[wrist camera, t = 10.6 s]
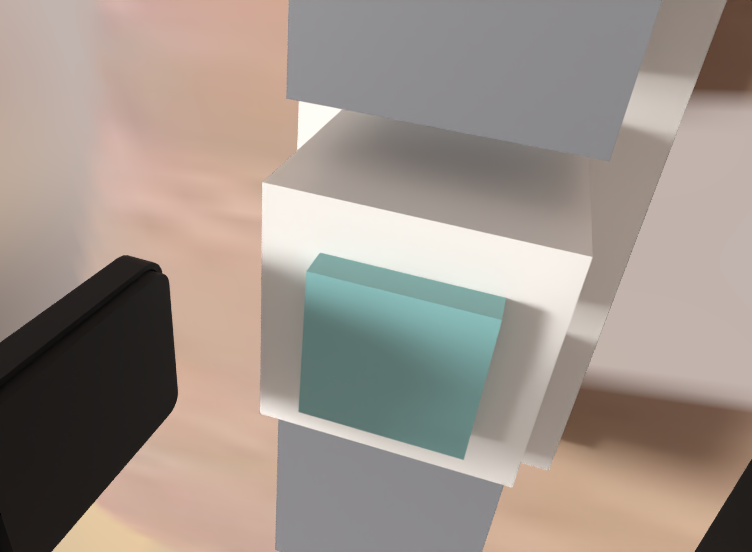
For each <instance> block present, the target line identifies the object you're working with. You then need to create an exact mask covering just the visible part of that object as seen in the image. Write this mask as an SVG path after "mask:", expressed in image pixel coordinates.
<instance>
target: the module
mask: <svg viewBox="0 0 752 552" xmlns="http://www.w3.org/2000/svg"><path fill="white" fill-rule="evenodd" d="M592 257H593V253H592V217H591V182H590V157H584V156H579V155H574V154H569V153H564V152H559V151H554V150H548V149H543V148H538V147H533V146H528V145H523V144H518V143H513V142H507V141H502V140H497V139H492V138H487V137H482V136H477V135H471V134H466V133H461V132H456V131H451V130H446V129H441V128H435V127H430V126H425V125H420V124H415V123H410V122H405V121H399V120H394V119H389V118H384V117H379V116H374V115H369V114H363V113H358V112H353V111H348V110H343V109H342V110H341V111H340V112H339V113H338V114H336V115H335V116H334V117H333V118H332V119H331V120H330V121H329V122H328V123H327V124H326V125H324V126H323V127H322V128H321V129H320V130H319V131H318V132H317V133H316V134H315V135H314V136H312V137H311V138H310V139H309V140H308V141H307V142H306V143H305V144H304V145H303V146H302V147H300V148H299V149H298V150H297V151H296V152H295V153H294V154H293V155H292V156H291V157H290V158H288V159H287V160H286V161H285V162H284V163H283V164H282V165H281V166H280V167H279V168H277V169H276V170H275V171H274V172H273V173H272V174H271V175H270V176H269V177H268V178H267V179H265V180H264V181H263V182H262V277H261V380H260V414H263V415H267V416H270V417H273V418H277V419H280V420H284V421H287V422H290V423H294V424H297V425H301V426H304V427H307V428H311V429H314V430H318V431H321V432H324V433H328V434H331V435H335V436H338V437H341V438H345V439H348V440H352V441H355V442H358V443H362V444H365V445H369V446H372V447H375V448H379V449H382V450H386V451H389V452H392V453H396V454H399V455H403V456H406V457H409V458H413V459H416V460H420V461H423V462H426V463H430V464H433V465H437V466H440V467H443V468H447V469H450V470H454V471H457V472H460V473H464V474H467V475H471V476H474V477H477V478H481V479H484V480H488V481H491V482H494V483H498V484H501V485H505V486H508V487H511V488H512V487H513V484H514V481H515V478H516V475H517V472H518V470H519V467H520V464H521V461H522V458H523V455H524V452H525V449H526V447H527V444H528V441H529V438H530V435H531V432H532V429H533V427H534V424H535V421H536V418H537V415H538V412H539V409H540V406H541V404H542V401H543V398H544V395H545V392H546V389H547V386H548V384H549V381H550V378H551V375H552V372H553V369H554V366H555V363H556V361H557V358H558V355H559V352H560V349H561V346H562V343H563V341H564V338H565V335H566V332H567V329H568V326H569V323H570V320H571V318H572V315H573V312H574V309H575V306H576V303H577V300H578V298H579V295H580V292H581V289H582V286H583V283H584V280H585V277H586V275H587V272H588V269H589V266H590V263H591V260H592Z"/></svg>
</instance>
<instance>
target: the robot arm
mask: <svg viewBox="0 0 752 552" xmlns="http://www.w3.org/2000/svg"><path fill="white" fill-rule="evenodd" d="M177 397H178V387H177V374H176V362H175V350H174V337H173V325H172V312H171V300H170V287H169V280H168V278H167V276H166V275H164V274H162V270H161V268H160V266H159V265H158V264H156V263H154V262H150V261H146V260H143V259H139V258H135V257H132V256H128V255H123V256H121V257H119V258H117V259H116V260H114V261H113V262H112V263H110V264H109V265H107V266H106V267H105V268H103V269H102V270H100V271H99V272H98V273H96V274H95V275H94V276H92V277H91V278H89V279H88V280H87V281H85V282H84V283H82V284H81V285H80V286H78V287H77V288H75V289H74V290H73V291H71V292H70V293H68V294H67V295H66V296H64V297H63V298H62V299H60V300H59V301H57V302H56V303H55V304H53V305H52V306H51V307H49V308H48V309H46V310H45V311H43V312H42V313H41V314H39V315H38V316H37V317H35V318H34V319H32V320H31V321H29V322H28V323H27V324H25V325H24V326H23V327H21V328H20V329H18V330H17V331H16V332H15V333H13V334H11V335H10V336H9V337H7V338H6V339H4V340H3V341H2V342H0V552H52V551H53V549H54V548H55V547H56V546H57V545H58V544H59V542H60V541H61V540H62V539H63V538H64V537H65V536H66V534H67V533H68V532H69V531H70V530H71V529H72V527H73V526H74V525H75V524H76V523H77V521H78V520H79V519H80V518H81V517H82V516H83V515H84V513H85V512H86V511H87V510H88V509H89V508H90V506H91V505H92V504H93V503H94V502H95V501H96V499H97V498H98V497H99V496H100V495H101V494H102V492H103V491H104V490H105V489H106V488H107V487H108V485H109V484H110V483H111V482H112V481H113V480H114V478H115V477H116V476H117V475H118V474H119V473H120V471H121V470H122V469H123V468H124V467H125V466H126V465H127V463H128V462H129V461H130V460H131V459H132V458H133V456H134V455H135V454H136V453H137V452H138V451H139V449H140V448H141V447H142V446H143V445H144V444H145V442H146V441H147V440H148V439H149V438H150V437H151V435H152V434H153V433H154V432H155V431H156V430H157V428H158V427H159V426H160V425H161V424H162V423H163V421H164V420H165V419H166V418H167V417H168V416H169V414H170V413H171V412H172V410H173V408H174V406H175V404H176V401H177ZM695 552H752V459H751V461H750V463H749V464H748V466H747V468H746V469H745V471H744V472H743V474H742V476H741V477H740V479H739V481H738V482H737V484H736V485H735V487H734V489H733V490H732V492H731V494H730V495H729V497H728V498H727V500H726V502H725V503H724V505H723V506H722V508H721V510H720V511H719V513H718V515H717V516H716V518H715V519H714V521H713V523H712V524H711V526H710V528H709V529H708V531H707V532H706V534H705V536H704V537H703V539H702V541H701V542H700V544H699V545H698V547H697V549H696V550H695Z"/></svg>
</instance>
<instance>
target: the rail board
mask: <svg viewBox="0 0 752 552" xmlns="http://www.w3.org/2000/svg"><path fill="white" fill-rule="evenodd" d="M726 2H727V0H289V14H288V55H287V96H286V99H292V100H297V101H299V116H298V144H297V150H298V149H299V148H300V147H302V146H303V145H304V144H305V143H306V142H307V141H308V140H309V139H310V138H311V137H312V136H314V135H315V134H316V133H317V132H318V131H319V130H320V129H321V128H322V127H323V126H324V125H326V124H327V123H328V122H329V121H330V120H331V119H332V118H333V117H334V116H335V115H336V114H338V113H339V112H340V111H341V110H342V109H343V110H348V111H353V112H358V113H363V114H369V115H374V116H379V117H384V118H389V119H394V120H399V121H405V122H410V123H415V124H420V125H425V126H430V127H435V128H441V129H446V130H451V131H456V132H461V133H466V134H471V135H477V136H482V137H487V138H492V139H497V140H502V141H507V142H513V143H518V144H523V145H528V146H533V147H538V148H543V149H548V150H554V151H559V152H564V153H569V154H574V155H579V156H584V157H590V182H591V217H592V253H593V257H592V260H591V263H590V266H589V269H588V272H587V275H586V277H585V280H584V283H583V286H582V289H581V292H580V295H579V298H578V300H577V303H576V306H575V309H574V312H573V315H572V318H571V320H570V323H569V326H568V329H567V332H566V335H565V338H564V341H563V343H562V346H561V349H560V352H559V355H558V358H557V361H556V363H555V366H554V369H553V372H552V375H551V378H550V381H549V384H548V386H547V389H546V392H545V395H544V398H543V401H542V404H541V406H540V409H539V412H538V415H537V418H536V421H535V424H534V427H533V429H532V432H531V435H530V438H529V441H528V444H527V447H526V449H525V452H524V455H523V458H522V461H521V463H524V464H527V465H531V466H534V467H538V468H541V469H545V470H548V471H549V468H550V466H551V463H552V460H553V458H554V455H555V453H556V450H557V447H558V445H559V442H560V439H561V437H562V434H563V431H564V429H565V426H566V424H567V421H568V418H569V416H570V413H571V410H572V408H573V405H574V402H575V400H576V397H577V395H578V392H579V389H580V387H581V384H582V381H583V379H584V376H585V373H586V371H587V368H588V366H589V362H590V360H591V357H592V355H593V352H594V350H595V347H596V344H597V342H598V339H599V337H600V334H601V331H602V329H603V326H604V323H605V320H606V318H607V315H608V313H609V310H610V308H611V305H612V302H613V300H614V297H615V294H616V292H617V289H618V286H619V283H620V281H621V278H622V276H623V273H624V271H625V268H626V265H627V263H628V260H629V257H630V255H631V252H632V249H633V247H634V244H635V242H636V239H637V236H638V234H639V231H640V228H641V226H642V223H643V220H644V218H645V215H646V212H647V210H648V207H649V205H650V202H651V199H652V197H653V194H654V191H655V189H656V186H657V184H658V181H659V178H660V175H661V173H662V170H663V168H664V165H665V162H666V160H667V157H668V155H669V152H670V149H671V147H672V144H673V141H674V139H675V136H676V133H677V131H678V128H679V126H680V123H681V120H682V118H683V115H684V112H685V110H686V107H687V104H688V102H689V99H690V97H691V94H692V91H693V89H694V86H695V83H696V81H697V78H698V75H699V73H700V70H701V68H702V65H703V62H704V60H705V57H706V54H707V52H708V49H709V46H710V44H711V41H712V39H713V36H714V33H715V31H716V28H717V25H718V23H719V20H720V17H721V15H722V12H723V10H724V7H725V4H726ZM503 486H504V485H501V484H498V483H494V482H491V481H488V480H484V479H481V478H477V477H474V476H471V475H467V474H464V473H460V472H457V471H454V470H450V469H447V468H443V467H440V466H437V465H433V464H430V463H426V462H423V461H420V460H416V459H413V458H409V457H406V456H403V455H399V454H396V453H392V452H389V451H386V450H382V449H379V448H375V447H372V446H369V445H365V444H362V443H358V442H355V441H352V440H348V439H345V438H341V437H338V436H335V435H331V434H328V433H324V432H321V431H318V430H314V429H311V428H307V427H304V426H301V425H297V424H294V423H290V422H287V421H284V420H280V419H279V421H278V462H277V502H276V543H275V550H277V551H280V552H482V550H483V547H484V544H485V541H486V538H487V535H488V532H489V529H490V526H491V523H492V520H493V517H494V514H495V511H496V508H497V504H498V501H499V498H500V495H501V492H502V489H503Z"/></svg>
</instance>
